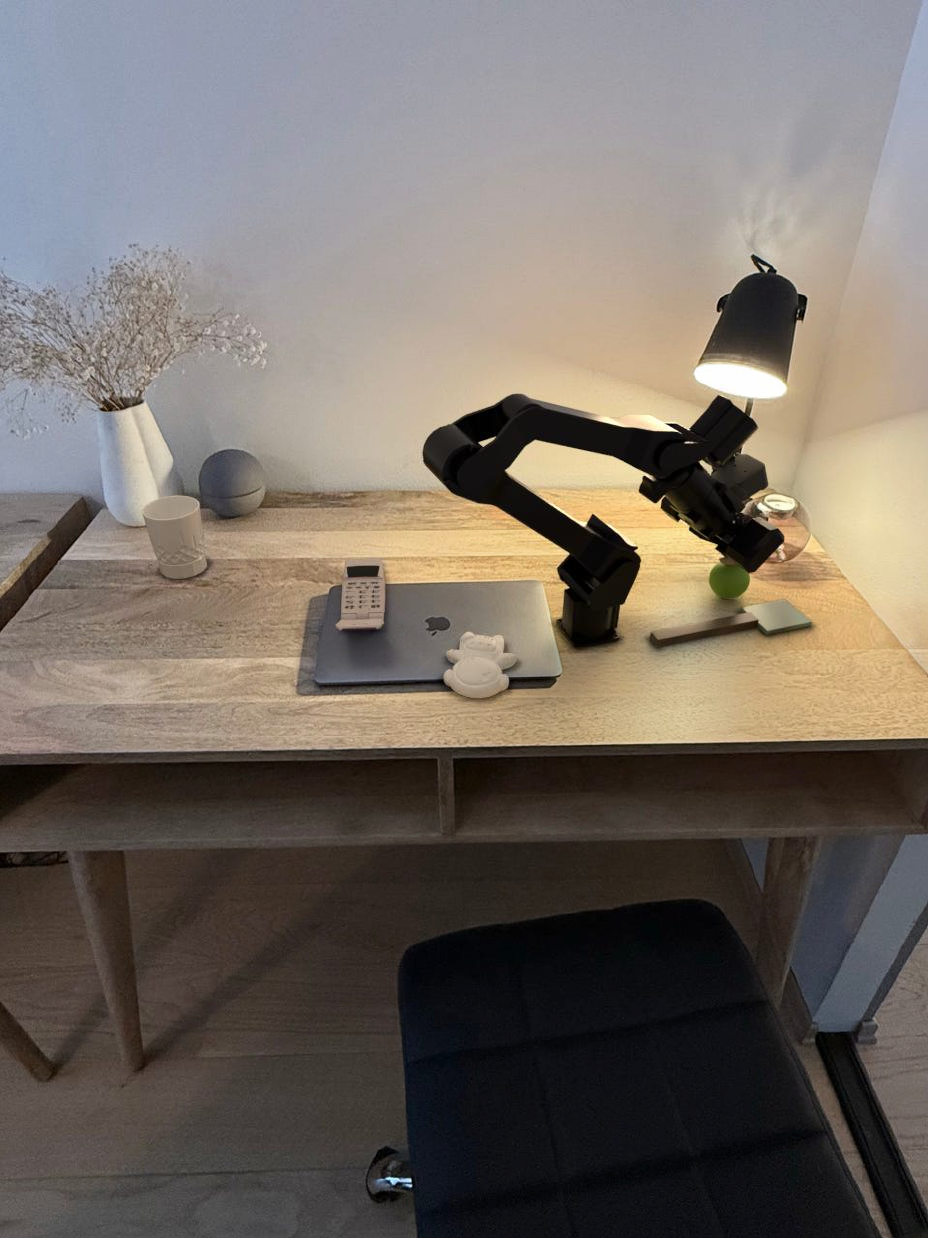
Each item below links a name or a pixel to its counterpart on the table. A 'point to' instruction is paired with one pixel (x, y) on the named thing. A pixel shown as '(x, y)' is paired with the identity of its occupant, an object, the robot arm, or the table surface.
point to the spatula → (737, 623)
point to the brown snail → (729, 578)
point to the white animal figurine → (479, 666)
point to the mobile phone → (362, 594)
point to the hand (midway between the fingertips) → (745, 552)
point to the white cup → (176, 535)
